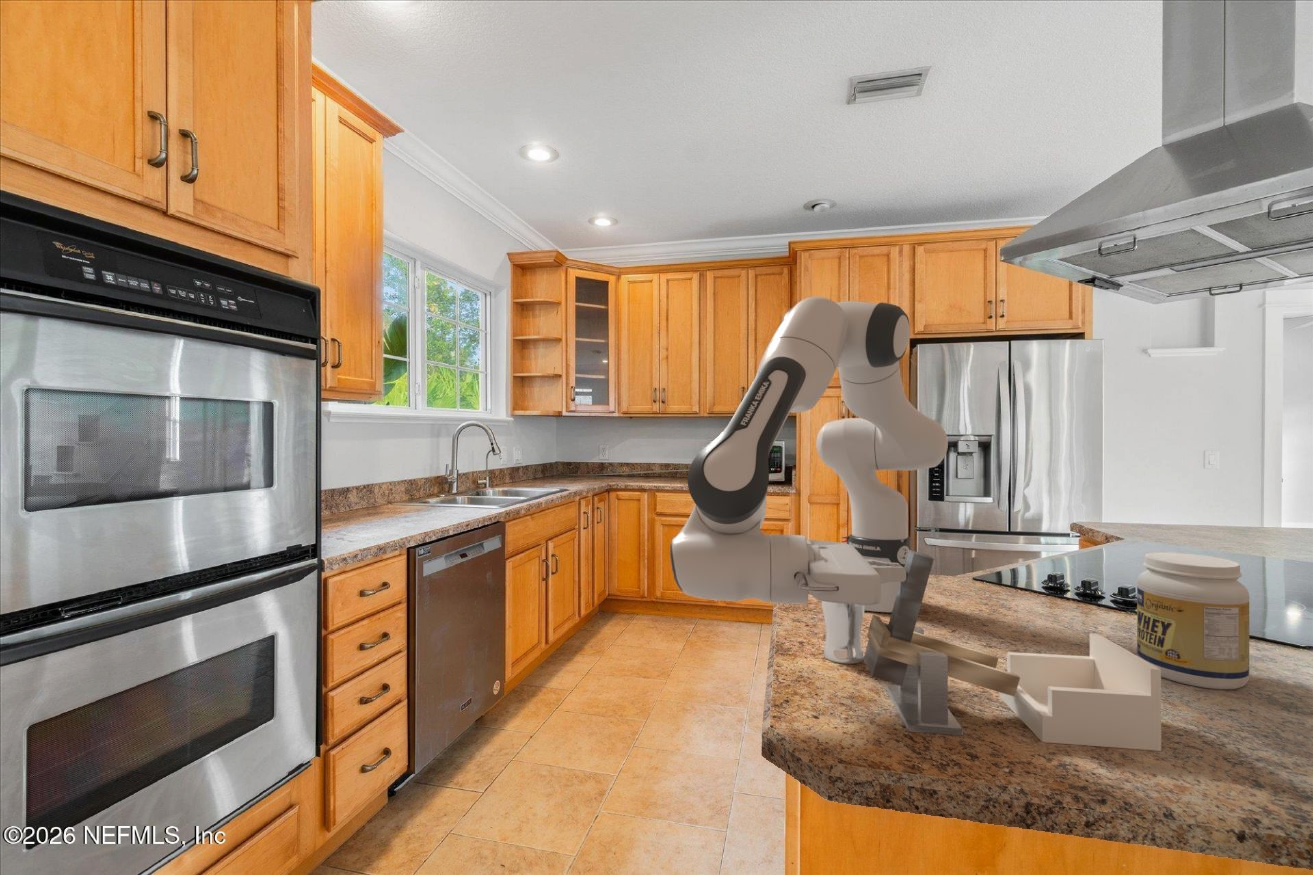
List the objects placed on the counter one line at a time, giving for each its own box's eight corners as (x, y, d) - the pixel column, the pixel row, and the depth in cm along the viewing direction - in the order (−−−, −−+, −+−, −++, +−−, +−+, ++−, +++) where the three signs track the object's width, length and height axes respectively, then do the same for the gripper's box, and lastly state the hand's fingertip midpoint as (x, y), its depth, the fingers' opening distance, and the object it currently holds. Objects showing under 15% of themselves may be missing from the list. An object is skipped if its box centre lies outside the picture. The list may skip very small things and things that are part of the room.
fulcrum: (908, 731, 69) (907, 655, 69) (886, 689, 81) (885, 624, 81) (962, 735, 68) (962, 658, 68) (932, 692, 80) (932, 626, 80)
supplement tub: (1117, 657, 93) (1117, 549, 93) (1201, 660, 91) (1200, 551, 91) (1178, 690, 80) (1177, 566, 80) (1276, 694, 79) (1275, 568, 79)
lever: (872, 679, 72) (906, 554, 71) (860, 655, 80) (891, 542, 79) (1009, 722, 69) (1046, 592, 69) (983, 693, 77) (1016, 576, 76)
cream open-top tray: (1042, 741, 67) (1042, 662, 67) (999, 696, 79) (998, 629, 79) (1161, 750, 65) (1160, 669, 65) (1098, 702, 77) (1098, 633, 77)
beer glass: (834, 645, 98) (833, 556, 98) (874, 656, 93) (874, 562, 93) (812, 656, 93) (811, 562, 93) (853, 669, 88) (853, 569, 88)
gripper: (798, 561, 67) (926, 564, 65) (788, 532, 87) (885, 534, 85) (798, 616, 67) (927, 621, 65) (788, 575, 87) (886, 578, 85)
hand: (903, 572), depth 75 cm, fingers closed, pressing on lever
